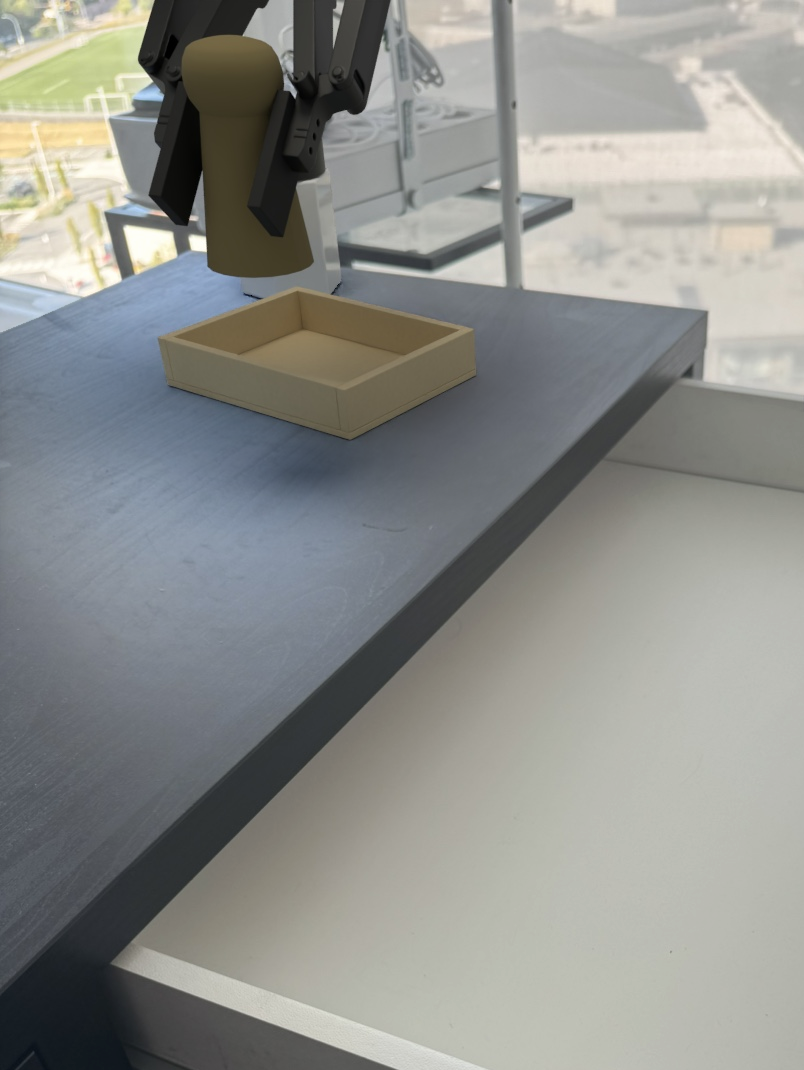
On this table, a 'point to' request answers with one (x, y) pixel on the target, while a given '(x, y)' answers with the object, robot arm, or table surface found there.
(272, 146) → the robot arm
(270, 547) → the table surface
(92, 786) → the table surface
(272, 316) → the tray
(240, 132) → the cork
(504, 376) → the table surface
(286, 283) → the jar
